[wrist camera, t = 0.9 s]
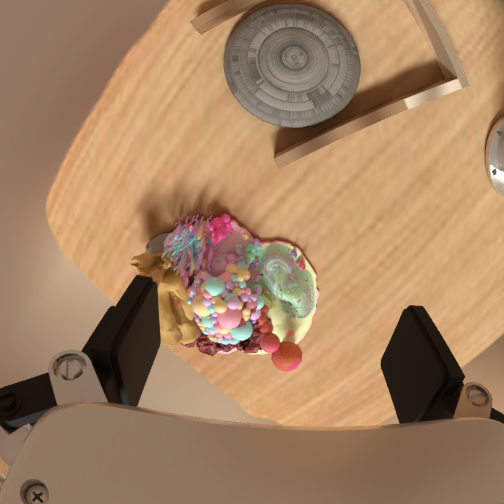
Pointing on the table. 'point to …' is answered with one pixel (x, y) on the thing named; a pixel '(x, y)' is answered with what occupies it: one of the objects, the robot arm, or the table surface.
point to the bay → (453, 81)
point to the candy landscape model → (230, 290)
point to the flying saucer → (292, 65)
